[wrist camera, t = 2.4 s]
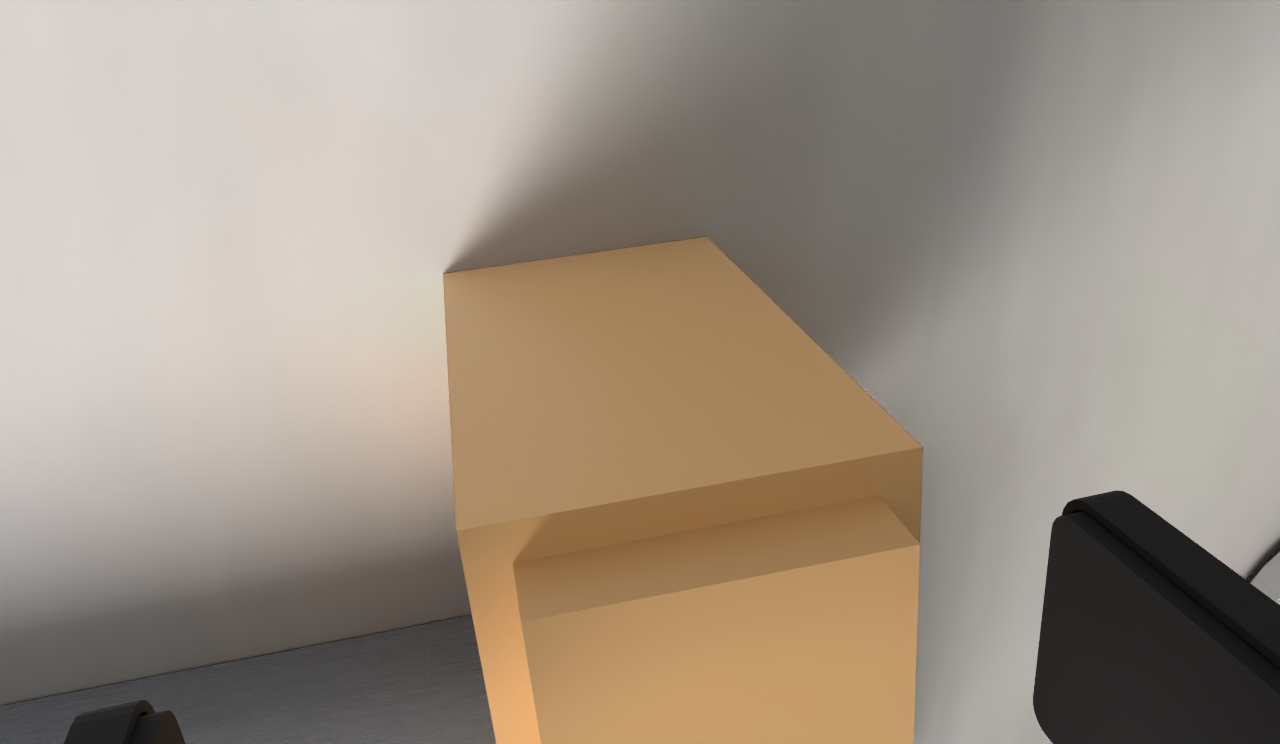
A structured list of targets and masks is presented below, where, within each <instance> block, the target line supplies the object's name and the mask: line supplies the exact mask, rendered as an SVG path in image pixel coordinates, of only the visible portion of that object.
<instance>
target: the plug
mask: <svg viewBox="0 0 1280 744" xmlns="http://www.w3.org/2000/svg"><path fill="white" fill-rule="evenodd" d="M443 283H444V303H445V323H446V343H447V362H448V382H449V402H450V422H451V442H452V462H453V482H454V502H455V521H456V533H457V539H458V544H459V549H460V555H461V560H462V565H463V570H464V576H465V581H466V586H467V592H468V597H469V602H470V607H471V613H472V618H473V623H474V628H475V634H476V639H477V644H478V650H479V655H480V660H481V665H482V671H483V676H484V681H485V687H486V692H487V697H488V702H489V708H490V713H491V718H492V724H493V729H494V734H495V739H496V744H914V721H915V691H916V661H917V631H918V601H919V571H920V516H921V486H922V456H923V447H922V446H921V445H920V444H919V443H918V442H917V441H916V440H915V439H914V438H913V437H912V436H911V435H910V434H909V433H908V432H907V431H906V430H905V429H904V428H903V427H902V426H901V425H900V424H899V423H898V422H897V421H896V420H894V419H893V418H892V417H891V416H890V415H889V414H888V413H887V412H886V411H885V410H884V409H883V408H882V407H881V406H880V405H879V404H878V403H877V402H876V401H875V400H874V399H873V398H872V397H871V396H870V395H869V394H868V393H867V392H866V391H865V390H864V389H863V388H862V387H861V386H860V385H859V384H858V383H857V382H855V381H854V380H853V379H852V378H851V377H850V376H849V375H848V374H847V373H846V372H845V371H844V370H843V369H842V368H841V367H840V366H839V365H838V364H837V363H836V362H835V361H834V360H833V359H832V358H831V357H830V356H829V355H828V354H827V353H826V352H825V351H824V350H823V349H822V348H821V347H820V346H819V345H818V344H816V343H815V342H814V341H813V340H812V339H811V338H810V337H809V336H808V335H807V334H806V333H805V332H804V331H803V330H802V329H801V328H800V327H799V326H798V325H797V324H796V323H795V322H794V321H793V320H792V319H791V318H790V317H789V316H788V315H787V314H786V313H785V312H784V311H783V310H782V309H781V308H780V307H779V306H778V305H776V304H775V303H774V302H773V301H772V300H771V299H770V298H769V297H768V296H767V295H766V294H765V293H764V292H763V291H762V290H761V289H760V288H759V287H758V286H757V285H756V284H755V283H754V282H753V281H752V280H751V279H750V278H749V277H748V276H747V275H746V274H745V273H744V272H743V271H742V270H741V269H740V268H739V267H737V266H736V265H735V264H734V263H733V262H732V261H731V260H730V259H729V258H728V257H727V256H726V255H725V254H724V253H723V252H722V251H721V250H720V249H719V248H718V247H717V246H716V245H715V244H714V243H713V242H712V241H711V240H710V239H709V238H708V237H701V238H694V239H686V240H679V241H672V242H665V243H658V244H651V245H644V246H637V247H629V248H622V249H615V250H608V251H601V252H594V253H587V254H580V255H572V256H565V257H558V258H551V259H544V260H537V261H530V262H523V263H516V264H508V265H501V266H494V267H487V268H480V269H473V270H466V271H459V272H451V273H444V274H443Z"/></svg>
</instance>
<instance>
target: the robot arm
mask: <svg viewBox="0 0 1280 744" xmlns="http://www.w3.org/2000/svg"><path fill="white" fill-rule="evenodd" d="M1033 706H1034V711H1035V715H1036V717H1037V720H1038V722H1039V724H1040V726H1041V728H1042V730H1043V731H1044V733H1045V734H1046V736H1047V737H1048V738H1049V739H1050V740H1051V742H1052V743H1053V744H1280V551H1279V552H1278V553H1277V554H1276V555H1275V556H1274V557H1273V558H1272V559H1270V560H1269V561H1268V562H1267V563H1266V564H1265V565H1264V566H1263V567H1262V569H1261V570H1260V571H1259V572H1258V573H1257V575H1256V576H1255V577H1254V578H1253V580H1252V581H1251V582H1250V583H1249V582H1248V581H1247V580H1245V579H1244V578H1242V577H1241V576H1240V575H1238V574H1237V573H1236V572H1234V571H1233V570H1232V569H1230V568H1229V567H1228V566H1226V565H1225V564H1224V563H1222V562H1221V561H1219V560H1218V559H1217V558H1215V557H1214V556H1213V555H1211V554H1210V553H1209V552H1207V551H1206V550H1205V549H1203V548H1202V547H1201V546H1199V545H1198V544H1197V543H1195V542H1194V541H1192V540H1191V539H1190V538H1188V537H1187V536H1186V535H1184V534H1183V533H1182V532H1180V531H1179V530H1178V529H1176V528H1175V527H1174V526H1172V525H1171V524H1169V523H1168V522H1167V521H1165V520H1164V519H1163V518H1161V517H1160V516H1159V515H1157V514H1156V513H1155V512H1153V511H1152V510H1151V509H1149V508H1148V507H1147V506H1145V505H1144V504H1142V503H1141V502H1140V501H1138V500H1137V499H1136V498H1134V497H1133V496H1132V495H1130V494H1128V493H1126V492H1124V491H1112V492H1107V493H1103V494H1098V495H1093V496H1089V497H1084V498H1079V499H1075V500H1072V501H1070V502H1068V503H1067V505H1066V506H1065V508H1064V509H1063V513H1062V516H1060V517H1058V518H1056V519H1055V521H1054V522H1053V526H1052V531H1051V540H1050V549H1049V558H1048V567H1047V577H1046V586H1045V595H1044V604H1043V613H1042V622H1041V631H1040V640H1039V649H1038V658H1037V668H1036V677H1035V686H1034V695H1033ZM64 744H185V741H184V738H183V735H182V733H181V730H180V727H179V725H178V722H177V720H176V718H175V715H174V714H173V713H172V712H171V711H168V710H167V711H162V712H157V713H155V711H154V709H153V707H152V705H151V704H150V703H149V702H148V701H146V700H139V701H134V702H130V703H125V704H120V705H116V706H111V707H107V708H102V709H97V710H93V711H88V712H83V713H81V714H79V715H78V716H76V718H75V719H74V721H73V723H72V725H71V727H70V729H69V732H68V734H67V737H66V739H65V742H64Z"/></svg>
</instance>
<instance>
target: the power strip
mask: <svg viewBox="0 0 1280 744" xmlns="http://www.w3.org/2000/svg"><path fill="white" fill-rule="evenodd" d="M139 700H146V701H148V702H149V703H150V704H151V705H152V707H153V709H154V711H155V713H157V712H162V711H167V710H168V711H171V712H172V713H173V714H174V715H175V718H176V720H177V722H178V725H179V727H180V730H181V733H182V735H183V738H184V741H185V744H496V739H495V734H494V729H493V724H492V718H491V713H490V708H489V702H488V697H487V692H486V687H485V681H484V676H483V671H482V665H481V660H480V655H479V650H478V644H477V639H476V634H475V628H474V623H473V618H472V615H470V616H464V617H459V618H454V619H449V620H444V621H439V622H433V623H428V624H423V625H418V626H413V627H407V628H402V629H397V630H392V631H387V632H382V633H376V634H371V635H366V636H361V637H356V638H350V639H345V640H340V641H335V642H330V643H325V644H319V645H314V646H309V647H304V648H299V649H293V650H288V651H283V652H278V653H273V654H268V655H262V656H257V657H252V658H247V659H242V660H236V661H231V662H226V663H221V664H216V665H210V666H205V667H200V668H195V669H190V670H185V671H179V672H174V673H169V674H164V675H159V676H153V677H148V678H143V679H138V680H133V681H128V682H122V683H117V684H112V685H107V686H102V687H96V688H91V689H86V690H81V691H76V692H71V693H65V694H60V695H55V696H50V697H45V698H39V699H34V700H29V701H24V702H19V703H13V704H8V705H3V706H0V744H64V742H65V739H66V737H67V734H68V732H69V729H70V727H71V725H72V723H73V721H74V719H75V718H76V716H78V715H79V714H81V713H83V712H88V711H93V710H97V709H102V708H107V707H111V706H116V705H120V704H125V703H130V702H134V701H139Z"/></svg>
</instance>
